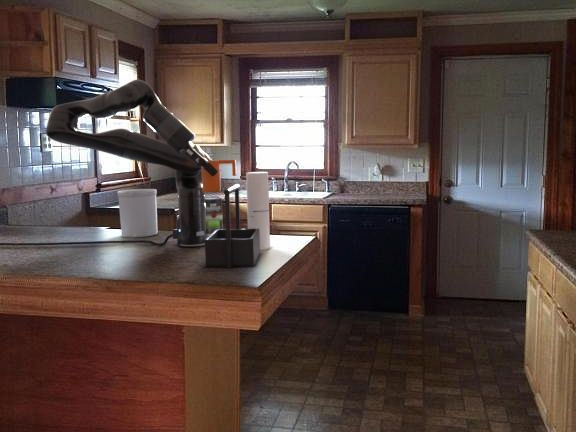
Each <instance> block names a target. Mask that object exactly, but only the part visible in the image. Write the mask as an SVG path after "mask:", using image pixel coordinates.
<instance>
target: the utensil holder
mask: <svg viewBox="0 0 576 432" xmlns="http://www.w3.org/2000/svg"><path fill="white" fill-rule="evenodd" d="M157 193H158V191H157V189H156V188H134V189H132V188H131V189H124V190H123V189H122V190H118V191H117V194H116V195H117V196H118V197H117V198H118V209H119V219H120V220H119V223H120V230H121V231H120V232H121V236H122V237H123V238H146V237H151V236H156V235H157V234H158V211H157V210H158V209H157Z"/></svg>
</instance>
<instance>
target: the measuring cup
mask: <svg viewBox="0 0 576 432" xmlns="http://www.w3.org/2000/svg"><path fill="white" fill-rule="evenodd" d="M208 163H210V164H211V165H212V166H213V167H214V168H215V169H216V170H217V171H218V173H217V174H216V175H215V176H211V175H210V174H209V173H208V172H207V171H206V170H205V169H204V168H202V192H205V193H220V192H221V191H222V185H221V184H222V183H221V181H222V180H221V172H220V170H221V164H223V165H224V164H225V165H226V164H228V165H230V164H231V168H232V169H231V170H232V173H231V174H232V176H233V177H236V176H237V159H219V160H217V159H216V160H215V159H214V160H212V161H208Z"/></svg>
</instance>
